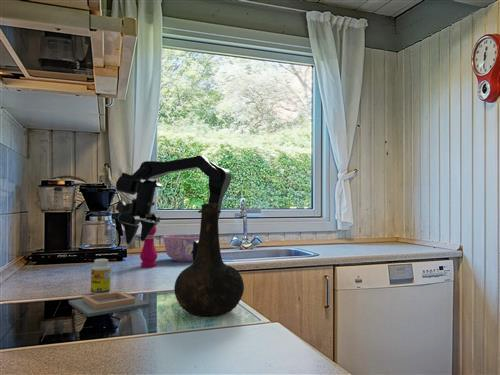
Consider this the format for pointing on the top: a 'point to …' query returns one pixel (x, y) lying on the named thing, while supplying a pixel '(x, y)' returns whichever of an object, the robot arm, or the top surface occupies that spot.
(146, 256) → the pepper mill
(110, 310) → the dock
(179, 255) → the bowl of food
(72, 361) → the top surface
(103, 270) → the supplement bottle
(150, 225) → the robot arm
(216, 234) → the dark brown vase
